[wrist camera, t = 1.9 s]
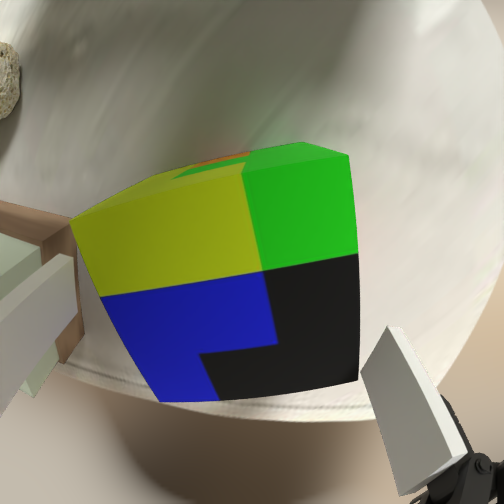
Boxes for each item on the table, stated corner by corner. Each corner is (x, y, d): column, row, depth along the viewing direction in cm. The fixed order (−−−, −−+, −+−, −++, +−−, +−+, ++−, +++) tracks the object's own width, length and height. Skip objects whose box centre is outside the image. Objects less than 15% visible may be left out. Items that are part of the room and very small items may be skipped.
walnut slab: (-7, 197, 19) (-41, 213, 15) (79, 217, 20) (42, 241, 15) (7, 297, 24) (-18, 321, 19) (86, 331, 25) (63, 364, 20)
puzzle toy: (193, 300, 22) (159, 402, 13) (153, 175, 18) (68, 220, 9) (322, 279, 21) (358, 380, 12) (302, 141, 17) (348, 154, 8)
